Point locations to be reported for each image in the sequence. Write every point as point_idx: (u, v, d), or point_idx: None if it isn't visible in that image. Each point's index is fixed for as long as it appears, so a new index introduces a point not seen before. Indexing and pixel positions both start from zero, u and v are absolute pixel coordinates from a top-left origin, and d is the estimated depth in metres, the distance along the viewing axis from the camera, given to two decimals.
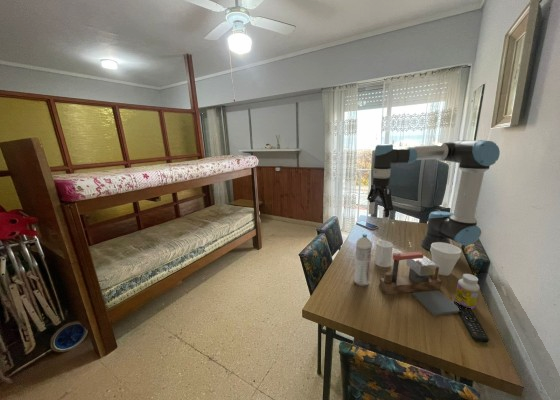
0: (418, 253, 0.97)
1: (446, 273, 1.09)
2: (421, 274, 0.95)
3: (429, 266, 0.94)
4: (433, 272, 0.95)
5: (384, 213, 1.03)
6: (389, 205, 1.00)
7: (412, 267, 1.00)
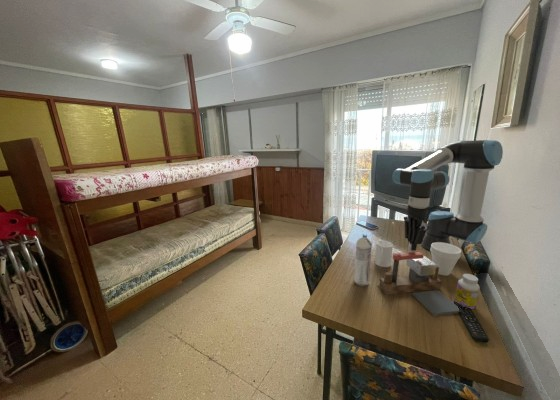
0: (418, 253, 0.97)
1: (446, 273, 1.09)
2: (421, 274, 0.95)
3: (429, 266, 0.94)
4: (433, 272, 0.95)
5: (411, 246, 0.97)
6: (419, 240, 0.93)
7: (412, 267, 1.00)
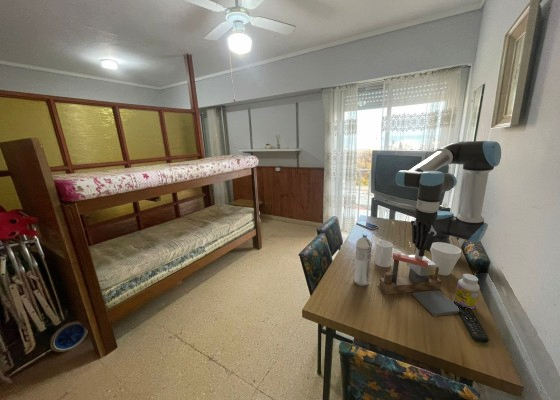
0: (423, 261, 0.91)
1: (446, 273, 1.09)
2: (421, 274, 0.95)
3: (429, 266, 0.94)
4: (433, 272, 0.95)
5: (418, 252, 0.93)
6: (427, 246, 0.88)
7: (412, 267, 1.00)
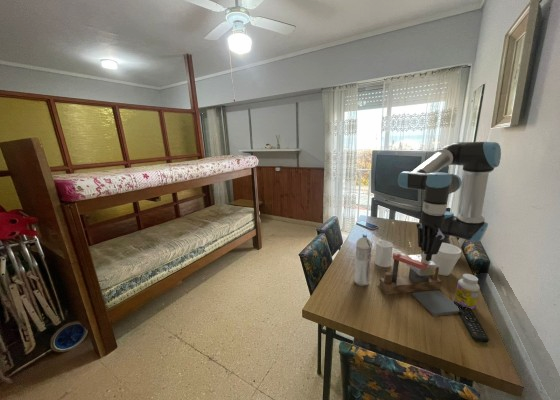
0: (422, 264, 0.89)
1: (446, 273, 1.09)
2: (421, 274, 0.95)
3: (429, 266, 0.94)
4: (433, 272, 0.95)
5: (425, 256, 0.89)
6: (435, 250, 0.85)
7: (412, 267, 1.00)
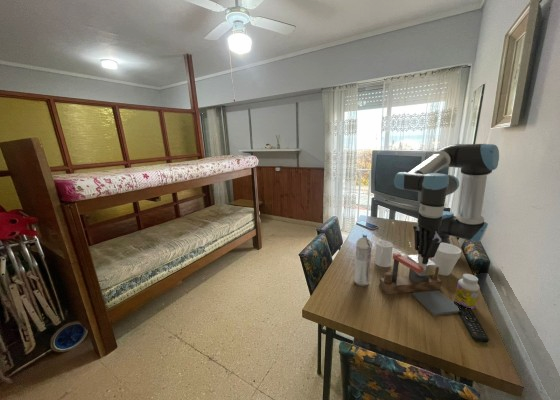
0: (417, 266, 0.87)
1: (446, 273, 1.09)
2: (421, 274, 0.95)
3: (429, 266, 0.94)
4: (433, 272, 0.95)
5: (422, 259, 0.87)
6: (431, 254, 0.83)
7: None
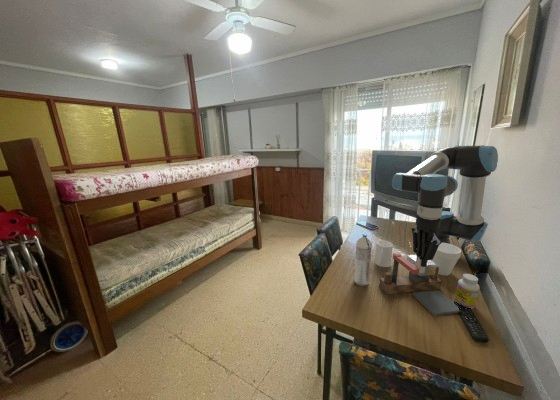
0: (413, 267, 0.87)
1: (446, 273, 1.09)
2: (421, 274, 0.95)
3: (429, 266, 0.94)
4: (433, 272, 0.95)
5: (420, 262, 0.85)
6: (430, 256, 0.81)
7: None
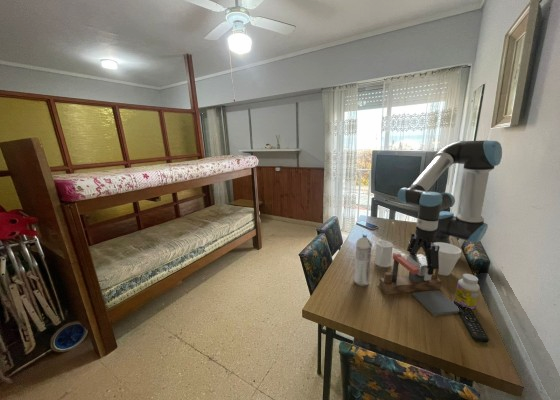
0: (413, 267, 0.87)
1: (446, 273, 1.09)
2: (421, 274, 0.95)
3: None
4: (433, 272, 0.95)
5: (427, 270, 0.94)
6: (435, 264, 0.90)
7: None
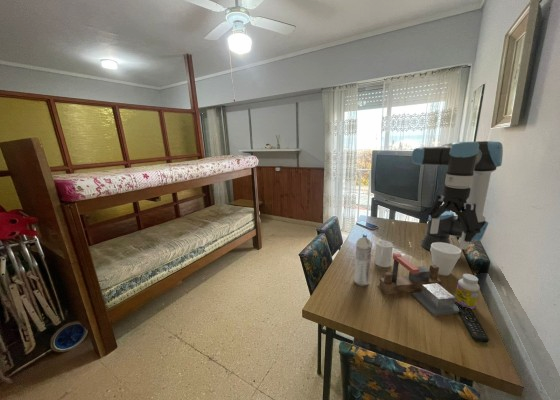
0: (413, 267, 0.87)
1: (446, 273, 1.09)
2: (438, 308, 0.87)
3: (447, 300, 0.86)
4: (451, 305, 0.87)
5: (464, 236, 0.76)
6: (475, 226, 0.73)
7: (428, 298, 0.91)
